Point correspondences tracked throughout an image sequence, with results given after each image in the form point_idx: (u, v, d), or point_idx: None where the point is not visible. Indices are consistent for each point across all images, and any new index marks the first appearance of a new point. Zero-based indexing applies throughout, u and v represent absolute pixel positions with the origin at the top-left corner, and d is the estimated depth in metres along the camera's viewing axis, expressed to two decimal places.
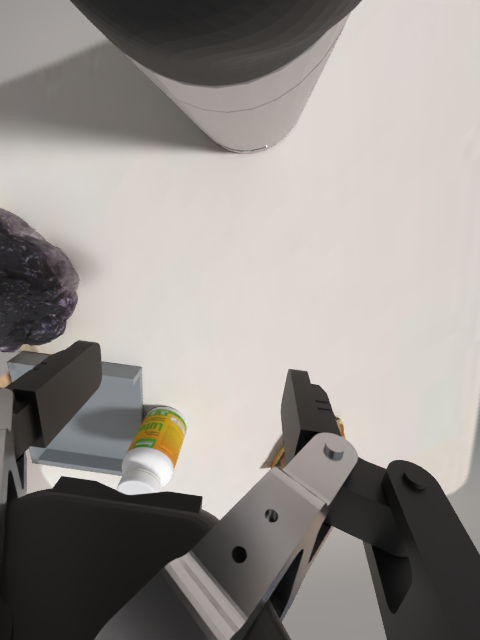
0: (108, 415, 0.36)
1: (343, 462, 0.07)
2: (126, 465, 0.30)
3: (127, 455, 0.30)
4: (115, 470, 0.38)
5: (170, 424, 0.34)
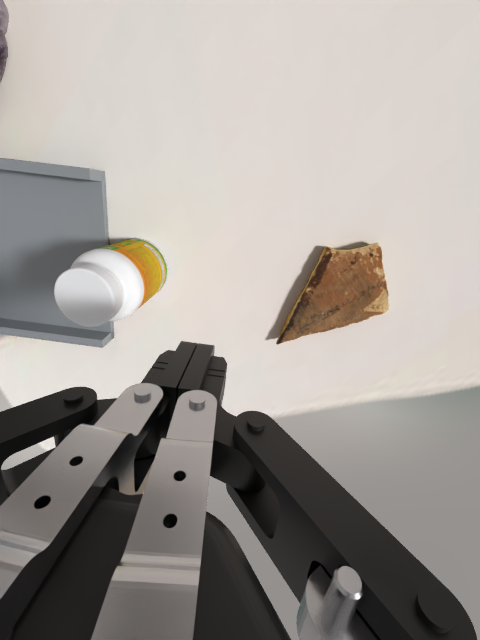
0: (62, 254, 0.27)
1: (199, 411, 0.09)
2: None
3: None
4: (72, 336, 0.28)
5: (143, 247, 0.24)
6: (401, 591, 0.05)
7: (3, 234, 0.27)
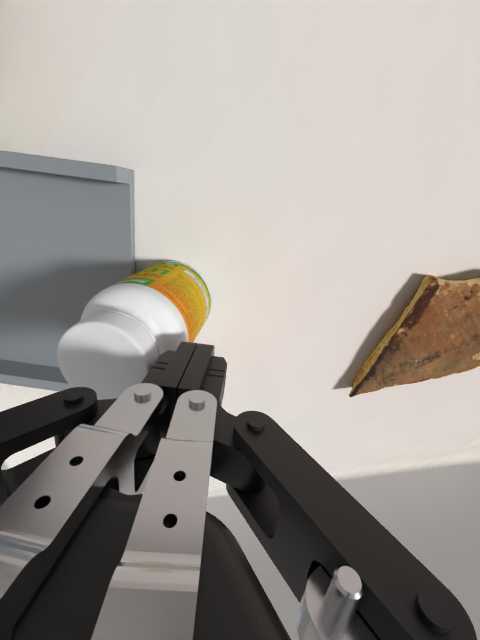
0: (72, 280, 0.20)
1: (199, 411, 0.09)
2: None
3: (91, 299, 0.14)
4: None
5: (183, 275, 0.18)
6: (401, 591, 0.05)
7: None
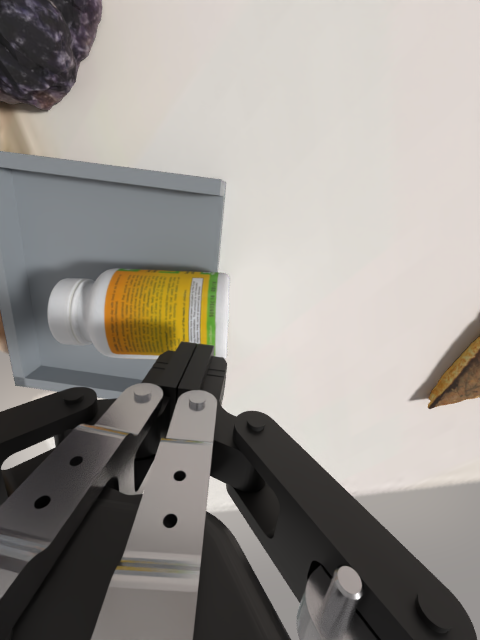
0: None
1: (199, 411, 0.09)
2: None
3: None
4: None
5: (181, 280, 0.16)
6: (401, 591, 0.05)
7: (77, 264, 0.20)
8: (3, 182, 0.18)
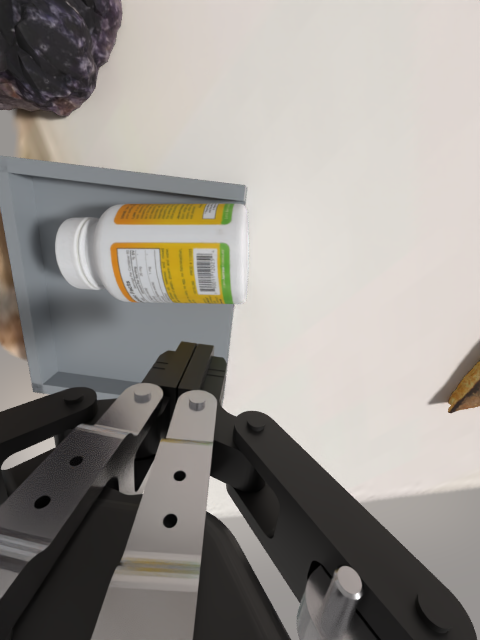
0: None
1: (199, 411, 0.09)
2: None
3: None
4: None
5: None
6: (401, 591, 0.05)
7: None
8: (24, 189, 0.18)
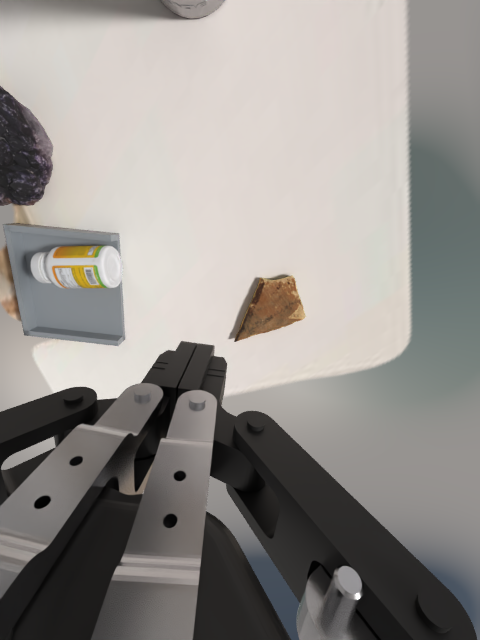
0: None
1: (199, 411, 0.09)
2: None
3: None
4: (98, 338, 0.43)
5: None
6: (401, 591, 0.05)
7: None
8: (17, 237, 0.39)
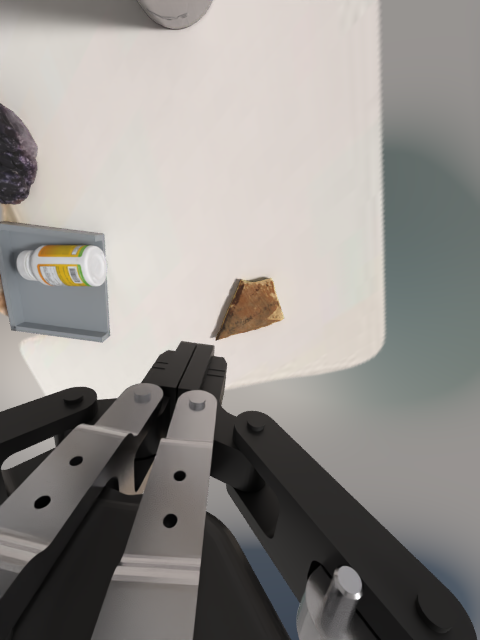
0: None
1: (199, 411, 0.09)
2: None
3: None
4: (82, 335, 0.44)
5: None
6: (401, 591, 0.05)
7: None
8: (5, 234, 0.40)
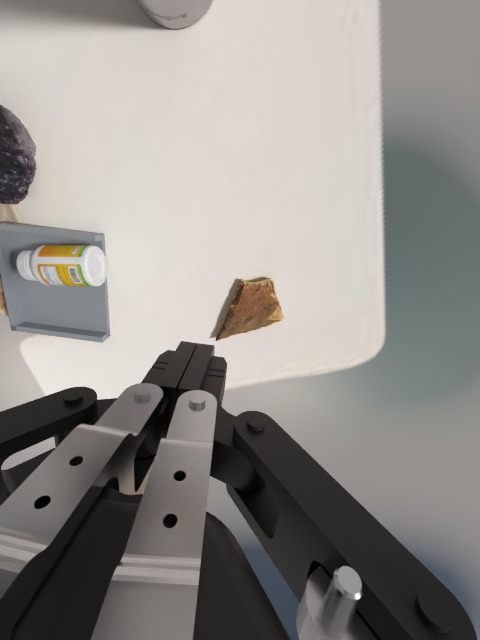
0: None
1: (199, 411, 0.09)
2: None
3: None
4: (82, 335, 0.44)
5: None
6: (401, 591, 0.05)
7: None
8: (5, 234, 0.40)
